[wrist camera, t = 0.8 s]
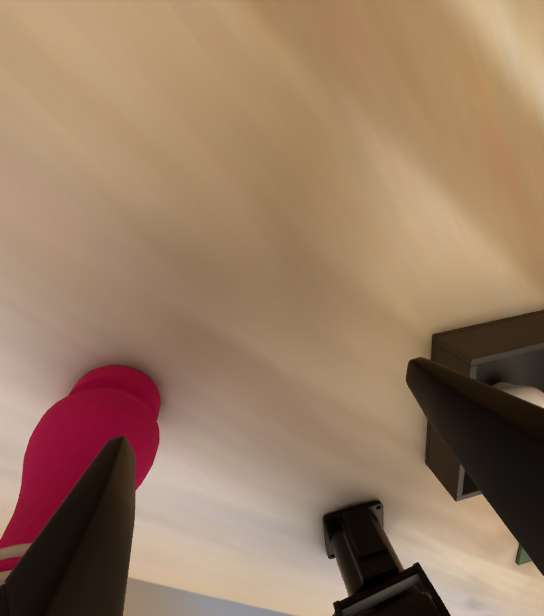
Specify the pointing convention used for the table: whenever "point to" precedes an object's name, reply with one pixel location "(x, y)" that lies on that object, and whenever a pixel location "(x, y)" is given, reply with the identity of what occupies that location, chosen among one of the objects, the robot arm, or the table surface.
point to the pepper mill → (80, 448)
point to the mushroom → (523, 392)
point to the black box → (485, 377)
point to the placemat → (522, 556)
